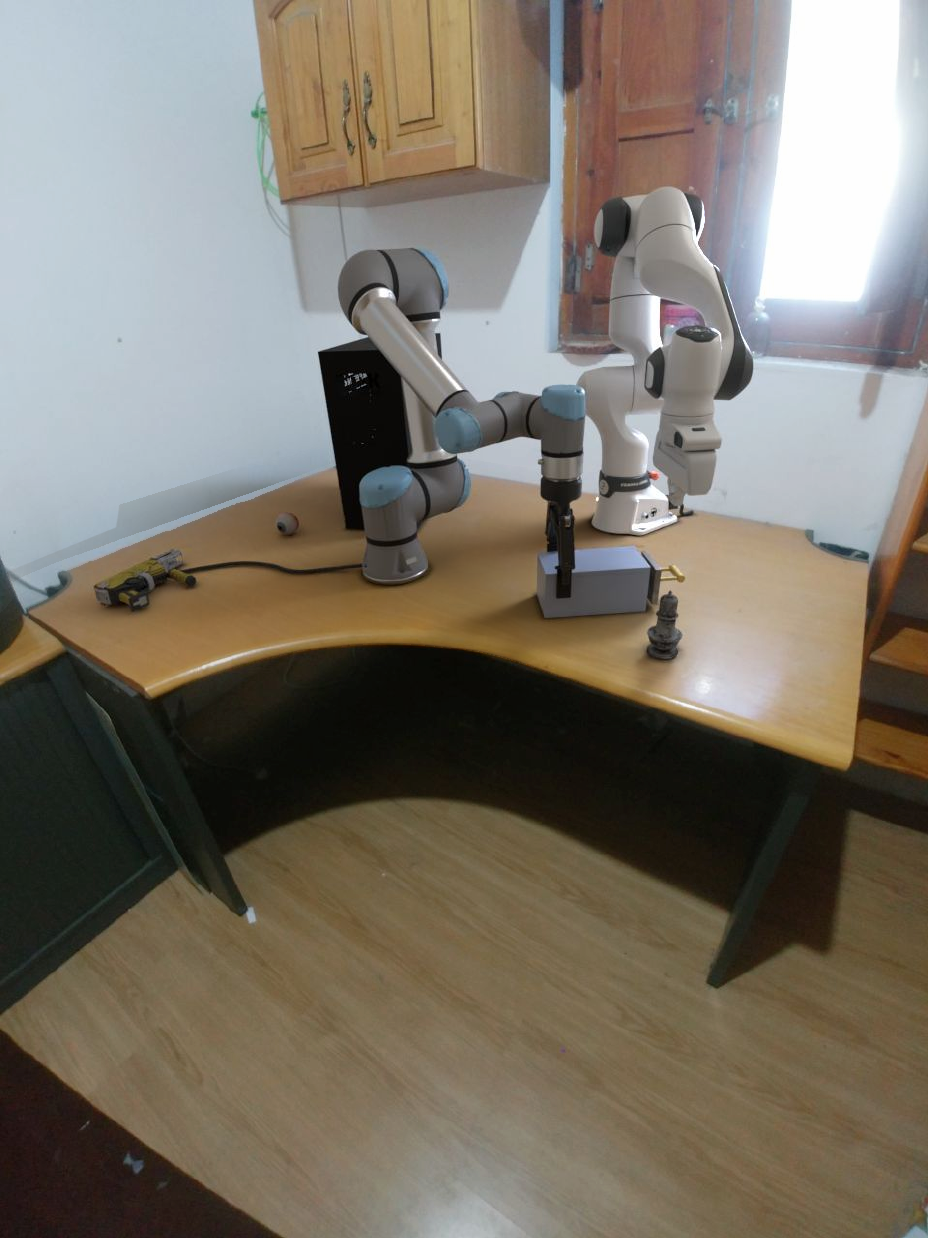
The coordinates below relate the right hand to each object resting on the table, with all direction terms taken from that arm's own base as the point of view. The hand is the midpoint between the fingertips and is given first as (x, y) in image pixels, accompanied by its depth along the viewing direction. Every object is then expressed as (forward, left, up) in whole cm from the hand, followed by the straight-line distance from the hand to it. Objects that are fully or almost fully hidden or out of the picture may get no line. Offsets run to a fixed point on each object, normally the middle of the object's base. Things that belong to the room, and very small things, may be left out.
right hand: (675, 503), depth 114 cm
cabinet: (+14, -6, -20) cm, 25 cm away
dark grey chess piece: (+14, +16, -20) cm, 29 cm away
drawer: (+9, -3, -19) cm, 21 cm away
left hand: (+20, -8, -15) cm, 27 cm away
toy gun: (+95, -60, -20) cm, 114 cm away
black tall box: (+28, -82, -20) cm, 89 cm away
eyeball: (+62, -78, -20) cm, 102 cm away
